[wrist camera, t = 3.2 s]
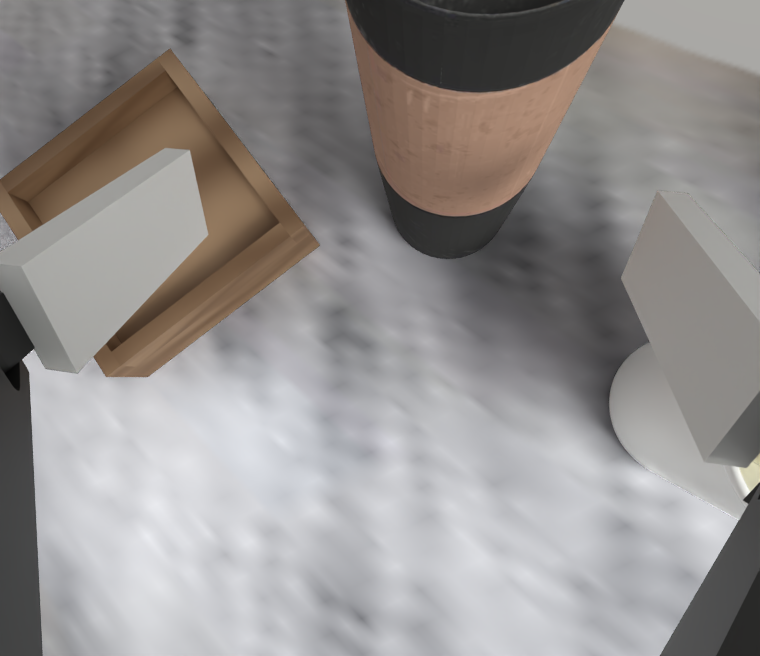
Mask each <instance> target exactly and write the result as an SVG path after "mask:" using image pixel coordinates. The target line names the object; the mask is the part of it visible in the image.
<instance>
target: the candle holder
mask: <svg viewBox="0 0 760 656" xmlns="http://www.w3.org/2000/svg"><path fill="white" fill-rule="evenodd" d="M609 411H610V417H611V422H612V425H613V428H614V431H615V433H616V435H617V437H618V439H619V441H620V442H621V444H622V445H623V447H624V448H625V450H626V451H627V452H628V453H629V454H630V455H631V456H632V457H633V458H634V459H635V460H636V461H637V462H638V463H639V464H640V465H642V466H643V467H645V468H646V469H647V470H649V471H650V472H652V473H654V474H655V475H657V476H659V477H660V478H662V479H664V480H666V481H667V482H669V483H671V484H673V485H675V486H676V487H678V488H680V489H682V490H684V491H685V492H687V493H689V494H691V495H693V496H694V497H696V498H698V499H700V500H702V501H703V502H705V503H707V504H709V505H711V506H713V507H714V508H716V509H718V510H720V511H722V512H723V513H725V514H727V515H729V516H731V517H732V518H734V519H736V520H738V521H739V519H740V518H741V516H742V514H743V513H744V511H745V509H746V507H747V506H748V503H746V502H745V501H743V499H744V498H745V497H746V496H747V495H748V494H749V493H750V492H751V491H752V490H753V489H754V488H755V486H756V485H757V484H758V483H759V482H760V454H759V455H758V456H757V457H756V458H755V459H754V460H753V461H752V463H751V464H750V465H749V466H748V467H747V468H742V467H734V466H727V465H720V464H713V463H706V462H704V461H703V458H702V456H701V454H700V452H699V450H698V447H697V445H696V443H695V441H694V439H693V436H692V434H691V432H690V430H689V428H688V425H687V423H686V421H685V419H684V417H683V414H682V412H681V410H680V408H679V405H678V403H677V401H676V399H675V397H674V394H673V392H672V390H671V388H670V386H669V383H668V381H667V379H666V377H665V375H664V372H663V370H662V368H661V366H660V364H659V361H658V359H657V357H656V355H655V353H654V350H653V348H652V346H651V344H650V342H649V343H647V344H645V345H643V346H641V347H640V348H638V349H637V350H636V351H634V352H633V353H632V354H631V355H630V356H629V357H628V358H627V359H626V360H625V361H624V362H623V364H622V365H621V366H620V368H619V369H618V371H617V373H616V375H615V377H614V380H613V383H612V386H611V390H610V396H609Z"/></svg>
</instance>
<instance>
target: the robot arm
mask: <svg viewBox="0 0 760 656" xmlns="http://www.w3.org/2000/svg"><path fill="white" fill-rule="evenodd" d="M207 236H208V230H207V226H206V221H205V217H204V212H203V208H202V203H201V199H200V194H199V190H198V185H197V181H196V176H195V172H194V167H193V163H192V158H191V154H190V150H184V149H172V148H164V149H163V150H161V151H159V152H158V153H156V154H155V155H153V156H152V157H150V158H148V159H147V160H145V161H144V162H142V163H140V164H139V165H137V166H136V167H134V168H132V169H131V170H129V171H128V172H126V173H124V174H123V175H121V176H120V177H118V178H117V179H115V180H113V181H112V182H110V183H109V184H107V185H105V186H104V187H102V188H101V189H99V190H97V191H96V192H94V193H93V194H91V195H89V196H88V197H86V198H85V199H83V200H82V201H80V202H78V203H77V204H75V205H74V206H72V207H70V208H69V209H67V210H66V211H64V212H62V213H61V214H59V215H58V216H56V217H54V218H53V219H51V220H50V221H48V222H47V223H45V224H43V225H42V226H40V227H39V228H37V229H35V230H34V231H32V232H31V233H29V234H27V235H26V236H24V237H23V238H21V239H20V240H18V241H16V242H15V243H13V244H12V245H10V246H8V247H7V248H5V249H4V250H2V251H0V656H43V654H42V633H41V613H40V592H39V571H38V550H37V529H36V508H35V487H34V466H33V445H32V425H31V404H30V383H29V372H28V370H27V367H26V366H25V364H24V362H23V361H22V359H23V358H24V357H25V356H26V355H27V354H28V353H30V352H31V351H32V350H33V349H34V350H35V351H36V353H37V355H38V357H39V358H40V360H41V362H42V364H43V365H44V367H45V369H49V370H56V371H63V372H70V373H78V372H79V371H80V370H81V369H82V368H83V367H84V366H85V365H86V364H87V363H88V362H89V361H90V360H91V358H92V357H93V356H94V355H95V354H96V353H97V352H98V351H99V350H100V349H101V348H102V347H103V346H104V345H105V344H106V343H107V342H108V340H109V339H110V338H111V337H112V336H113V335H114V334H115V333H116V332H117V331H118V330H119V329H120V328H121V327H122V326H123V325H124V324H125V322H126V321H127V320H128V319H129V318H130V317H131V316H132V315H133V314H134V313H135V312H136V311H137V310H138V309H139V308H140V307H141V306H142V305H143V303H144V302H145V301H146V300H147V299H148V298H149V297H150V296H151V295H152V294H153V293H154V292H155V291H156V290H157V289H158V288H159V287H160V285H161V284H162V283H163V282H164V281H165V280H166V279H167V278H168V277H169V276H170V275H171V274H172V273H173V272H174V271H175V270H176V269H177V267H178V266H179V265H180V264H181V263H182V262H183V261H184V260H185V259H186V258H187V257H188V256H189V255H190V254H191V253H192V252H193V251H194V249H195V248H196V247H197V246H198V245H199V244H200V243H201V242H202V241H203V240H204V239H205V238H206V237H207ZM621 280H622V282H623V284H624V286H625V289H626V291H627V293H628V295H629V297H630V300H631V302H632V304H633V306H634V308H635V311H636V313H637V315H638V317H639V319H640V322H641V324H642V326H643V328H644V330H645V333H646V335H647V337H648V339H649V341H650V344H651V346H652V348H653V350H654V353H655V355H656V357H657V359H658V361H659V364H660V366H661V368H662V370H663V372H664V375H665V377H666V379H667V381H668V383H669V386H670V388H671V390H672V392H673V394H674V397H675V399H676V401H677V403H678V405H679V408H680V410H681V412H682V414H683V417H684V419H685V421H686V423H687V425H688V428H689V430H690V432H691V434H692V436H693V439H694V441H695V443H696V445H697V447H698V450H699V452H700V454H701V456H702V458H703V461H704V462H706V463H713V464H720V465H727V466H734V467H742V468H747V467H748V466H749V465H750V464H751V463H752V461H753V460H754V459H755V458H756V457H757V456H758V455H759V454H760V273H759V272H758V271H757V270H756V269H755V267H754V266H753V265H752V264H751V263H750V262H749V261H748V260H747V259H746V257H745V256H744V255H743V254H742V253H741V252H740V251H739V250H738V248H737V247H736V246H735V245H734V244H733V243H732V242H731V241H730V240H729V238H728V237H727V236H726V235H725V234H724V233H723V232H722V231H721V229H720V228H719V227H718V226H717V225H716V224H715V223H714V222H713V221H712V219H711V218H710V217H709V216H708V215H707V214H706V213H705V212H704V210H703V209H702V208H701V207H700V206H699V205H698V204H697V203H696V202H695V200H694V199H693V198H692V197H691V196H690V195H689V194H688V193H681V192H669V191H657V193H656V195H655V198H654V200H653V203H652V205H651V207H650V210H649V212H648V215H647V217H646V219H645V222H644V224H643V226H642V229H641V231H640V234H639V236H638V238H637V241H636V243H635V246H634V248H633V250H632V253H631V255H630V258H629V260H628V262H627V265H626V267H625V269H624V272H623V274H622V277H621ZM743 501H745V502H746V503H748V506H747V507H746V509H745V511H744V513H743V514H742V516H741V518H740V519H739V521H738V523H737V525H736V526H735V528H734V530H733V531H732V533H731V535H730V537H729V538H728V540H727V542H726V543H725V545H724V547H723V549H722V550H721V552H720V554H719V555H718V557H717V559H716V561H715V562H714V564H713V566H712V567H711V569H710V571H709V572H708V574H707V576H706V578H705V579H704V581H703V583H702V584H701V586H700V588H699V590H698V591H697V593H696V595H695V596H694V598H693V600H692V602H691V603H690V605H689V607H688V608H687V610H686V612H685V614H684V615H683V617H682V619H681V620H680V622H679V624H678V626H677V627H676V629H675V631H674V632H673V634H672V636H671V638H670V639H669V641H668V643H667V644H666V646H665V648H664V650H663V651H662V653H661V655H660V656H760V482H759V483H758V484H757V485H756V486H755V488H754V489H753V490H752V491H751V492H750V493H749V494H748V495H747V496H746V497H745V498H744V499H743Z"/></svg>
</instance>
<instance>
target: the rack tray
mask: <svg viewBox="0 0 760 656" xmlns="http://www.w3.org/2000/svg"><path fill="white" fill-rule="evenodd" d="M164 148H172V149H184V150H190V154H191V158H192V163H193V167H194V172H195V176H196V181H197V185H198V190H199V194H200V199H201V203H202V208H203V212H204V217H205V221H206V226H207V230H208V236H207V237H206V238H205V239H204V240H203V241H202V242H201V243H200V244H199V245H198V246H197V247H196V248H195V249H194V251H193V252H192V253H191V254H190V255H189V256H188V257H187V258H186V259H185V260H184V261H183V262H182V263H181V264H180V265H179V266H178V267H177V269H176V270H175V271H174V272H173V273H172V274H171V275H170V276H169V277H168V278H167V279H166V280H165V281H164V282H163V283H162V284H161V285H160V287H159V288H158V289H157V290H156V291H155V292H154V293H153V294H152V295H151V296H150V297H149V298H148V299H147V300H146V301H145V302H144V303H143V305H142V306H141V307H140V308H139V309H138V310H137V311H136V312H135V313H134V314H133V315H132V316H131V317H130V318H129V319H128V320H127V321H126V322H125V324H124V325H123V326H122V327H121V328H120V329H119V330H118V331H117V332H116V333H115V334H114V335H113V336H112V337H111V338H110V339H109V340H108V342H107V343H106V344H105V345H104V346H103V347H102V348H101V349H100V350H99V351H98V352H97V353H96V354H95V355H94V356H93V357H94V359H95V360H96V362H97V363H98V365H99V366H100V368H101V369H102V371H103V373H104V374H105V376H106V377H148V376H150V375H151V374H152V373H154V372H155V371H156V370H158V369H159V368H160V367H162V366H163V365H164V364H165V363H167V362H168V361H169V360H171V359H172V358H173V357H175V356H176V355H177V354H179V353H180V352H181V351H182V350H184V349H185V348H186V347H188V346H189V345H190V344H192V343H193V342H194V341H196V340H197V339H198V338H199V337H201V336H202V335H203V334H205V333H206V332H207V331H209V330H210V329H211V328H213V327H214V326H215V325H216V324H218V323H219V322H220V321H222V320H223V319H224V318H226V317H227V316H228V315H230V314H231V313H232V312H233V311H235V310H236V309H237V308H239V307H240V306H241V305H243V304H244V303H245V302H247V301H248V300H249V299H250V298H252V297H253V296H254V295H256V294H257V293H258V292H260V291H261V290H262V289H264V288H265V287H266V286H267V285H269V284H270V283H271V282H273V281H274V280H275V279H277V278H278V277H279V276H281V275H282V274H283V273H284V272H286V271H287V270H288V269H290V268H291V267H292V266H294V265H295V264H296V263H298V262H299V261H300V260H301V259H303V258H304V257H305V256H307V255H308V254H309V253H311V252H312V251H313V250H315V249H316V248H317V247H319V246H320V245H319V243H318V242H317V241H316V239H315V238H314V237H313V235H312V234H311V233H310V232H309V230H308V229H307V228H306V226H305V225H304V224H303V222H302V221H301V220H300V218H299V217H298V216H297V214H296V213H295V212H294V210H293V209H292V208H291V207H290V205H289V204H288V203H287V201H286V200H285V199H284V197H283V196H282V195H281V193H280V192H279V191H278V189H277V188H276V187H275V185H274V184H273V183H272V182H271V180H270V179H269V178H268V176H267V175H266V174H265V172H264V171H263V170H262V168H261V167H260V166H259V164H258V163H257V162H256V160H255V159H254V158H253V157H252V155H251V154H250V153H249V151H248V150H247V149H246V147H245V146H244V145H243V143H242V142H241V141H240V139H239V138H238V137H237V135H236V134H235V133H234V132H233V130H232V129H231V128H230V126H229V125H228V124H227V122H226V121H225V120H224V118H223V117H222V116H221V114H220V113H219V112H218V110H217V109H216V108H215V107H214V105H213V104H212V103H211V101H210V100H209V99H208V97H207V96H206V95H205V93H204V92H203V91H202V89H201V88H200V87H199V85H198V84H197V83H196V82H195V80H194V79H193V78H192V76H191V75H190V74H189V73H188V71H187V70H186V69H185V67H184V66H183V65H182V63H181V62H180V61H179V60H178V58H177V57H176V56H175V54H174V53H173V52H172V50H171V49H169V50H167V51H166V52H165V53H163V54H162V55H161V56H159V57H158V58H157V59H156V60H154V61H153V62H152V63H150V64H149V65H148V66H147V67H145V68H144V69H143V70H141V71H140V72H139V73H137V74H136V75H135V76H134V77H132V78H131V79H130V80H128V81H127V82H126V83H125V84H123V85H122V86H121V87H119V88H118V89H117V90H115V91H114V92H113V93H112V94H110V95H109V96H108V97H106V98H105V99H104V100H103V101H101V102H100V103H99V104H97V105H96V106H95V107H93V108H92V109H91V110H90V111H88V112H87V113H86V114H84V115H83V116H82V117H80V118H79V119H78V120H77V121H75V122H74V123H73V124H71V125H70V126H69V127H68V128H66V129H65V130H64V131H62V132H61V133H60V134H58V135H57V136H56V137H55V138H53V139H52V140H51V141H49V142H48V143H47V144H46V145H44V146H43V147H42V148H40V149H39V150H38V151H36V152H35V153H34V154H33V155H31V156H30V157H29V158H27V159H26V160H25V161H24V162H22V163H21V164H20V165H18V166H17V167H16V168H14V169H13V170H12V171H11V172H9V173H8V174H7V175H5V176H4V177H3V178H2V179H0V213H1V214H2V216H3V217H4V219H5V220H6V222H7V223H8V225H9V227H10V228H11V230H12V231H13V233H14V234H15V236H16V237H17V239H18V240H20V239H21V238H23V237H24V236H26V235H27V234H29V233H31V232H32V231H34V230H35V229H37V228H39V227H40V226H42V225H43V224H45V223H47V222H48V221H50V220H51V219H53V218H54V217H56V216H58V215H59V214H61V213H62V212H64V211H66V210H67V209H69V208H70V207H72V206H74V205H75V204H77V203H78V202H80V201H82V200H83V199H85V198H86V197H88V196H89V195H91V194H93V193H94V192H96V191H97V190H99V189H101V188H102V187H104V186H105V185H107V184H109V183H110V182H112V181H113V180H115V179H117V178H118V177H120V176H121V175H123V174H124V173H126V172H128V171H129V170H131V169H132V168H134V167H136V166H137V165H139V164H140V163H142V162H144V161H145V160H147V159H148V158H150V157H152V156H153V155H155V154H156V153H158V152H159V151H161V150H163V149H164Z"/></svg>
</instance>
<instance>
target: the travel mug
mask: <svg viewBox="0 0 760 656" xmlns="http://www.w3.org/2000/svg"><path fill="white" fill-rule="evenodd" d="M345 2H346V7H347V12H348V17H349V22H350V27H351V33H352V38H353V43H354V48H355V53H356V58H357V63H358V69H359V74H360V79H361V84H362V89H363V94H364V99H365V105H366V110H367V115H368V120H369V125H370V130H371V135H372V141H373V146H374V151H375V155H376V159H377V163H378V166H379V170H380V173H381V177H382V180H383V184H384V187H385V191H386V195H387V198H388V202H389V205H390V209H391V212H392V215H393V218H394V222H395V224H396V226H397V228H398V230H399V232H400V233H401V235H402V236H403V238H404V239H405V240H406V241H407V242H408V243H409V244H410V245H411V246H412V247H414V248H415V249H416V250H418V251H420V252H422V253H424V254H426V255H429V256H432V257H436V258H444V259H453V258H459V257H463V256H467V255H470V254H472V253H474V252H476V251H478V250H479V249H481V248H482V247H484V246H485V245H486V244H487V243H488V242H489V241H490V240H491V239H492V238H493V237H494V236H495V234H496V233H497V232H498V230H499V229H500V227H501V226H502V224H503V223H504V221H505V220H506V218H507V216H508V215H509V213H510V212H511V210H512V209H513V207H514V205H515V204H516V202H517V201H518V199H519V197H520V196H521V194H522V193H523V191H524V189H525V188H526V186H527V185H528V183H529V181H530V180H531V178H532V176H533V175H534V173H535V171H536V169H537V168H538V166H539V164H540V162H541V160H542V158H543V156H544V154H545V152H546V150H547V148H548V147H549V145H550V143H551V141H552V139H553V137H554V135H555V133H556V131H557V129H558V127H559V125H560V123H561V121H562V120H563V118H564V116H565V114H566V112H567V110H568V108H569V106H570V104H571V102H572V100H573V98H574V96H575V94H576V93H577V91H578V89H579V87H580V85H581V83H582V81H583V79H584V77H585V75H586V73H587V71H588V69H589V67H590V66H591V64H592V62H593V60H594V58H595V56H596V54H597V52H598V50H599V48H600V46H601V44H602V42H603V40H604V39H605V37H606V35H607V33H608V31H609V29H610V27H611V25H612V23H613V21H614V19H615V17H616V15H617V13H618V11H619V10H620V7H621V5H622V4H623V2H624V0H345Z"/></svg>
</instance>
